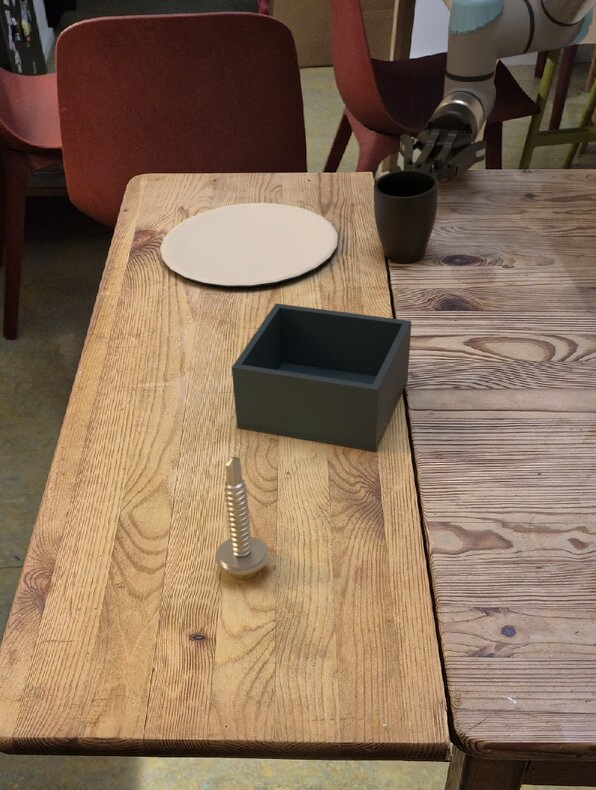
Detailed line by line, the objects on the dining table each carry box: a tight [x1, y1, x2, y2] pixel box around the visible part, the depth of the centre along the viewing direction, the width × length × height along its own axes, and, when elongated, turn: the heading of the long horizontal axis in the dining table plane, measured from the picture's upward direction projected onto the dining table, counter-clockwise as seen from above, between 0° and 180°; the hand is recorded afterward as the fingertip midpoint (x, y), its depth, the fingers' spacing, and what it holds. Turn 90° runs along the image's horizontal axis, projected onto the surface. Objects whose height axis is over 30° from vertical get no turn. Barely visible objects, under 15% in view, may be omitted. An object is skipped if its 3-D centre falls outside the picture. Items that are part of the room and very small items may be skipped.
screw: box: [215, 456, 270, 581], centre depth 81 cm, size 13×5×5 cm
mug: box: [373, 164, 439, 264], centre depth 124 cm, size 8×12×10 cm
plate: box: [159, 202, 339, 288], centre depth 130 cm, size 25×25×1 cm
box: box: [231, 303, 412, 452], centre depth 100 cm, size 14×16×8 cm
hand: (415, 192), depth 126 cm, fingers closed
